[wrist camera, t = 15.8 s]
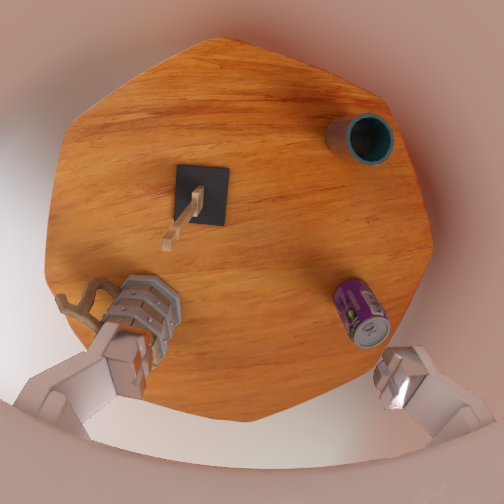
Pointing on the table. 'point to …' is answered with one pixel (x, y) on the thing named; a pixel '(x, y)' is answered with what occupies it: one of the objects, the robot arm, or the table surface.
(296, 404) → the table surface
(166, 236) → the wooden stir stick
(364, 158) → the cup
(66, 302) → the tankard
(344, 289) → the beverage can
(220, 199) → the mat
